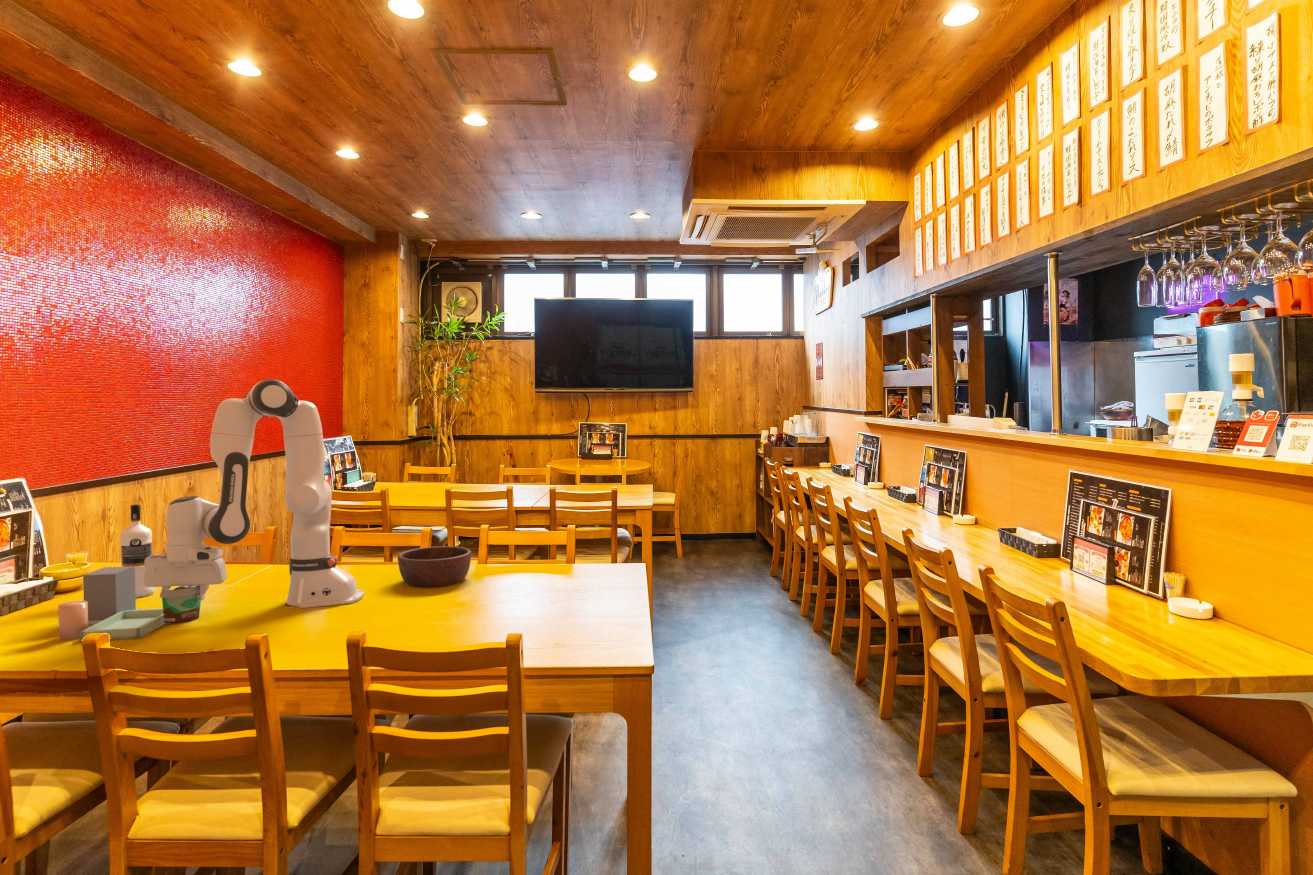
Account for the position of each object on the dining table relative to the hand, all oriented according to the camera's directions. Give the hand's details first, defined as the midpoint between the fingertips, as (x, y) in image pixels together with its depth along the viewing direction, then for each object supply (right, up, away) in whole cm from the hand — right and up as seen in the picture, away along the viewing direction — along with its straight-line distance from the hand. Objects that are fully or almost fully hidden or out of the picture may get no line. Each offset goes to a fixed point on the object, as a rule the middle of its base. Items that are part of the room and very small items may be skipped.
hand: (186, 600), depth 195 cm
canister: (-20, -6, -14) cm, 25 cm away
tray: (-10, -6, -7) cm, 14 cm away
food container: (0, -6, 0) cm, 6 cm away
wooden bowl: (+57, -5, +46) cm, 73 cm away
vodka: (-35, -5, +28) cm, 45 cm away
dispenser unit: (-24, -6, +2) cm, 25 cm away
